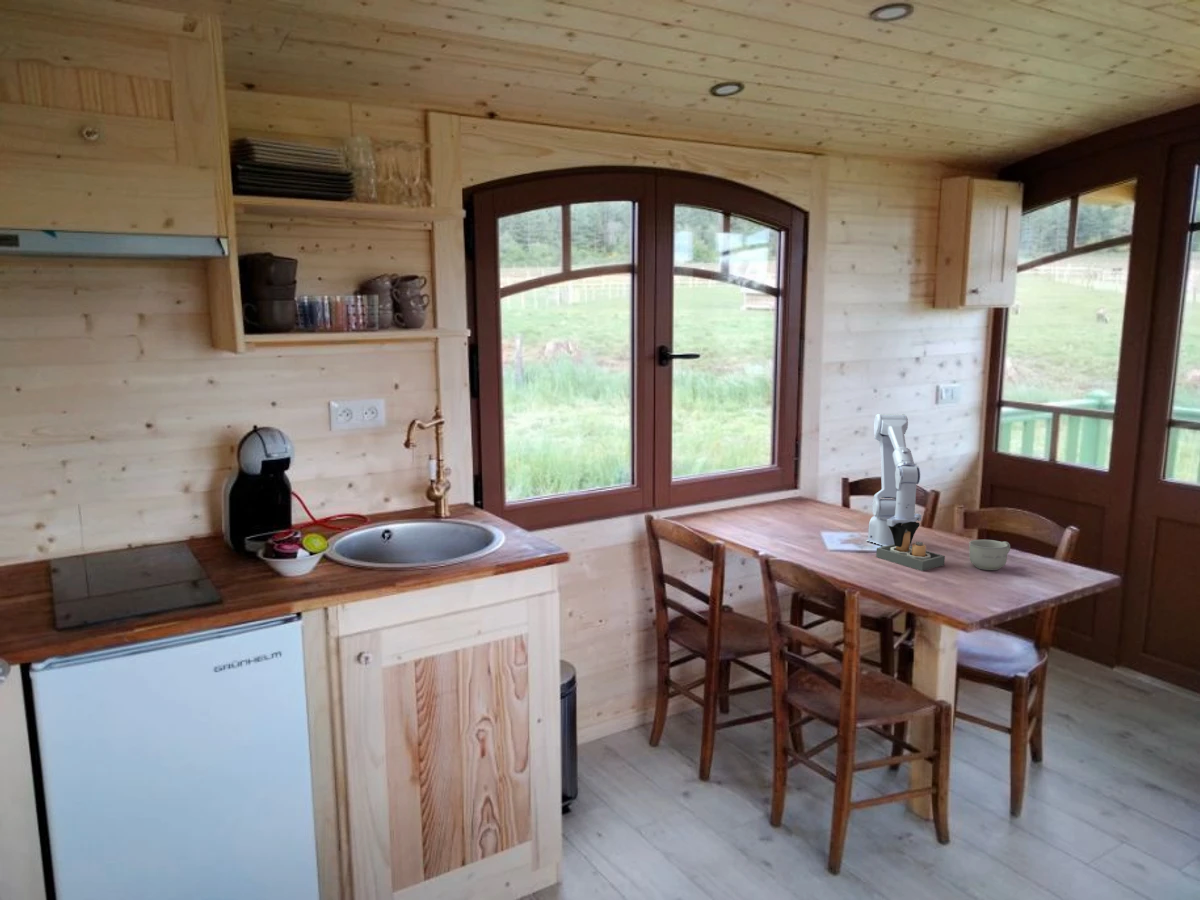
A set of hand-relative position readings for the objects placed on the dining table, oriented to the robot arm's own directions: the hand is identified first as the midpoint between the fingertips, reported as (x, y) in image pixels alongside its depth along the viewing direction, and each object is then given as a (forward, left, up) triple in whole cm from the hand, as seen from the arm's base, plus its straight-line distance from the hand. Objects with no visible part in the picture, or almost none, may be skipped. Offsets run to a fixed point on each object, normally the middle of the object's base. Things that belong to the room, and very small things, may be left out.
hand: (902, 545), depth 263 cm
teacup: (+20, +16, -5) cm, 26 cm away
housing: (+3, 0, -4) cm, 5 cm away
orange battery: (0, 0, -2) cm, 2 cm away
